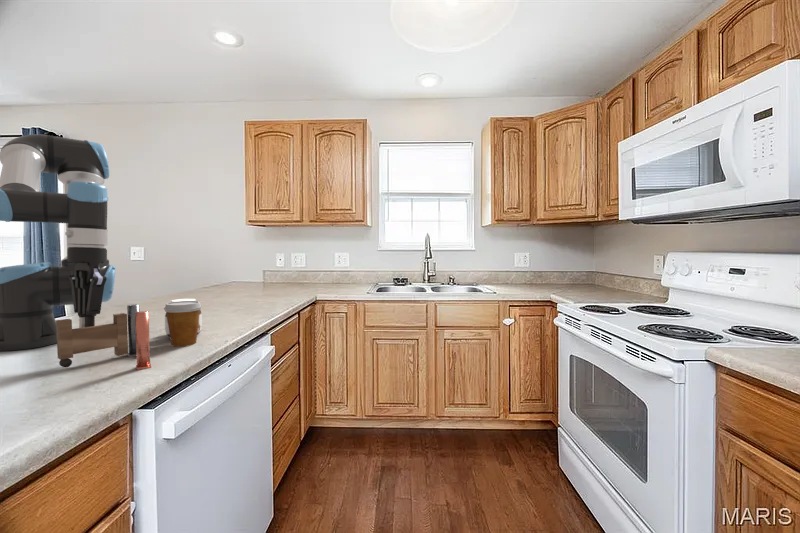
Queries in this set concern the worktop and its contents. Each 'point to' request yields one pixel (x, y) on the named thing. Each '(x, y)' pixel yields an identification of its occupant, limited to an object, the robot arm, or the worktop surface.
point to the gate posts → (139, 336)
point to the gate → (91, 338)
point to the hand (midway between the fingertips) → (86, 342)
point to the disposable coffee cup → (183, 321)
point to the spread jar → (198, 323)
